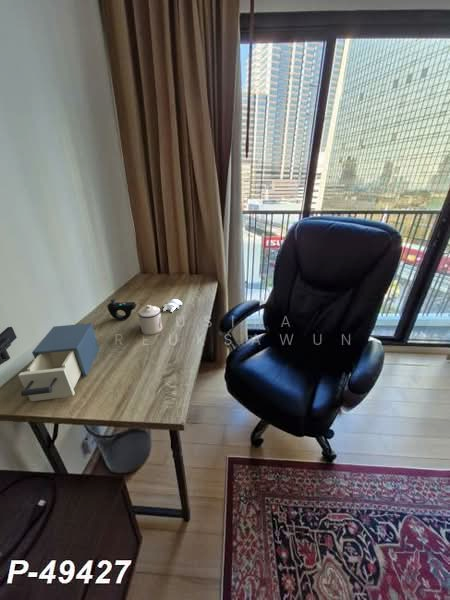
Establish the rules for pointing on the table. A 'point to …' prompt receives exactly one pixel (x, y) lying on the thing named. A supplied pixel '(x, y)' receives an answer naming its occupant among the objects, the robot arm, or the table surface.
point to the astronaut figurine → (172, 305)
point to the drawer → (51, 376)
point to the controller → (116, 306)
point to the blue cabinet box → (71, 343)
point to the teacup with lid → (150, 319)
